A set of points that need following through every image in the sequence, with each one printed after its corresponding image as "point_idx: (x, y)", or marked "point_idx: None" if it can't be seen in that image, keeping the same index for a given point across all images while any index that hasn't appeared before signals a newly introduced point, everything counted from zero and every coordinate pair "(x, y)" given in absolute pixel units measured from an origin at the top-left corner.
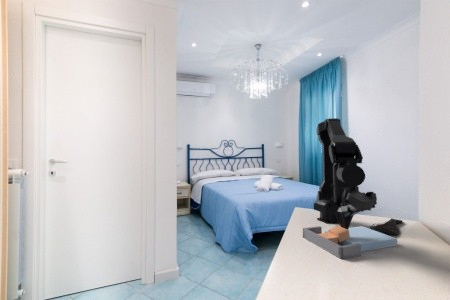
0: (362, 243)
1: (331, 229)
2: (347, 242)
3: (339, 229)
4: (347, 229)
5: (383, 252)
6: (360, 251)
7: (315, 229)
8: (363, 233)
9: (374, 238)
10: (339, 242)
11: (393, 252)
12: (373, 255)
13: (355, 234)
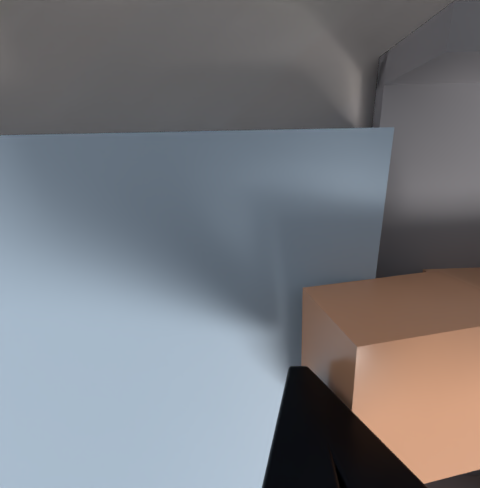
0: (270, 144)
1: (475, 454)
2: (374, 239)
3: (420, 414)
4: (354, 366)
5: (104, 49)
6: (406, 42)
7: None
8: (28, 358)
9: (12, 220)
10: None
11: (4, 17)
12: (259, 22)
13: (134, 360)
